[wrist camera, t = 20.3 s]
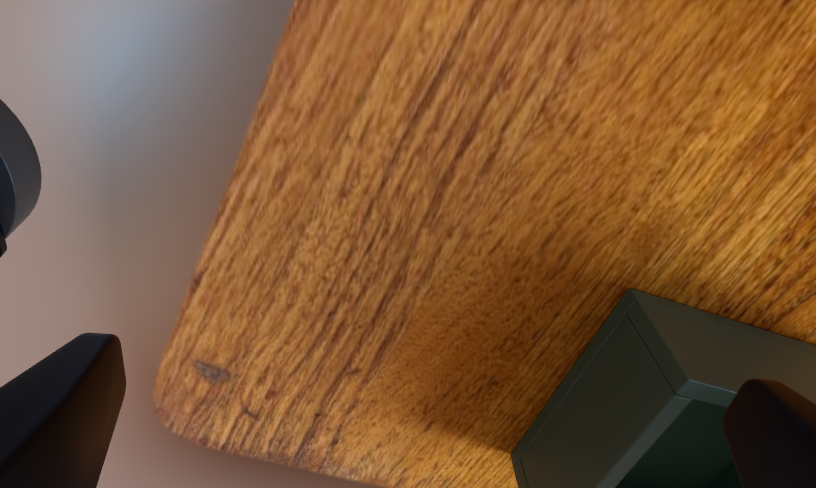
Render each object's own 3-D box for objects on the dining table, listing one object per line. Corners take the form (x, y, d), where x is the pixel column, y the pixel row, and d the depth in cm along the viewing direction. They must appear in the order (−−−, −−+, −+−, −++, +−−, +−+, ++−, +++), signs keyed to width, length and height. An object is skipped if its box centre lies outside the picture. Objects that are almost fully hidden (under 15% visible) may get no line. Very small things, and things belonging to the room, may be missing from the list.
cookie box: (509, 454, 29) (535, 557, 25) (628, 286, 24) (689, 378, 20) (693, 494, 32) (747, 593, 28) (836, 351, 27) (931, 445, 23)
